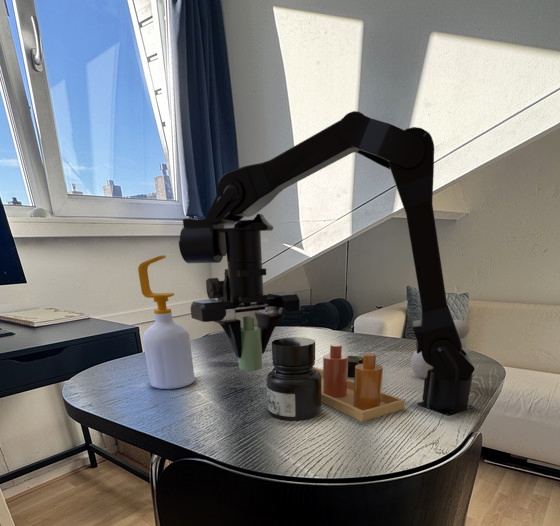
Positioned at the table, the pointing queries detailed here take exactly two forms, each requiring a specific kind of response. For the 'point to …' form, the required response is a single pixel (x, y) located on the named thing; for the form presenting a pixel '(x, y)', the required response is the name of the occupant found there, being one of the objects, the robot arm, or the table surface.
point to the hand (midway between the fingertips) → (250, 355)
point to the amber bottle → (367, 383)
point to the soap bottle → (165, 341)
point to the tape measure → (353, 364)
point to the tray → (346, 406)
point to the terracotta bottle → (335, 372)
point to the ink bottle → (294, 380)
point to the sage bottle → (250, 346)
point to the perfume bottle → (417, 359)
